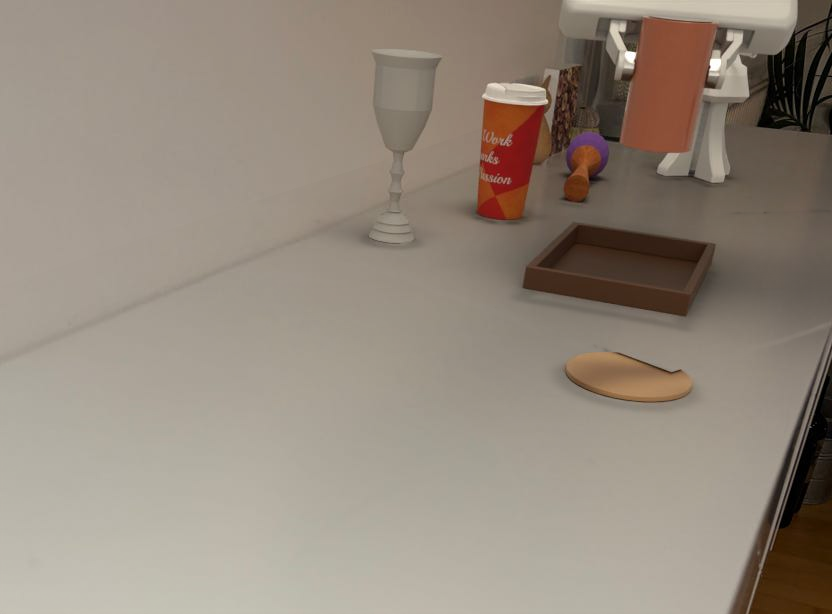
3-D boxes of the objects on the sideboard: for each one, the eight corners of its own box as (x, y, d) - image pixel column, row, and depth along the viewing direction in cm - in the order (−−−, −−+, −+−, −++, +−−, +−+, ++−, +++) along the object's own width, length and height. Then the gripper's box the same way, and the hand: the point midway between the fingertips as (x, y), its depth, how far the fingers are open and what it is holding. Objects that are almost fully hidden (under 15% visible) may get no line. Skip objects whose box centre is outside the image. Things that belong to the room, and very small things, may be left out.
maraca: (552, 166, 139) (567, 129, 155) (553, 213, 143) (568, 173, 158) (599, 162, 138) (610, 125, 153) (600, 210, 141) (610, 170, 156)
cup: (705, 150, 98) (734, 22, 92) (663, 155, 94) (690, 22, 88) (647, 137, 101) (671, 13, 96) (604, 142, 98) (627, 14, 92)
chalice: (352, 239, 118) (364, 53, 108) (366, 226, 123) (379, 47, 113) (418, 248, 116) (436, 60, 106) (429, 234, 122) (447, 54, 112)
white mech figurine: (689, 185, 155) (721, 42, 145) (636, 165, 165) (663, 31, 155) (755, 183, 159) (791, 45, 149) (700, 164, 169) (730, 33, 159)
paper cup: (457, 206, 134) (472, 81, 126) (512, 205, 137) (530, 82, 129) (485, 222, 128) (502, 91, 120) (542, 221, 131) (562, 92, 123)
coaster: (715, 385, 87) (716, 380, 87) (641, 411, 81) (642, 406, 81) (615, 348, 93) (616, 344, 93) (540, 370, 87) (540, 365, 87)
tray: (684, 322, 101) (690, 294, 99) (521, 293, 105) (525, 266, 103) (710, 268, 118) (716, 243, 116) (569, 245, 122) (573, 221, 120)
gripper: (791, -18, 99) (779, 115, 96) (566, -36, 101) (548, 94, 98) (815, -77, 93) (803, 64, 90) (575, -94, 95) (556, 43, 92)
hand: (668, 80), depth 94 cm, fingers closed on cup, 6 cm apart
